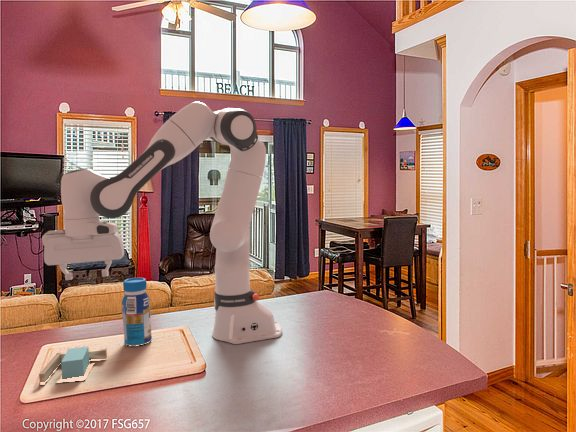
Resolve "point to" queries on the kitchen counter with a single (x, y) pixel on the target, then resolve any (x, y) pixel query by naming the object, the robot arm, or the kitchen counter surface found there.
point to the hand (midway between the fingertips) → (87, 277)
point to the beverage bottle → (136, 312)
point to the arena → (59, 357)
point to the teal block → (75, 362)
